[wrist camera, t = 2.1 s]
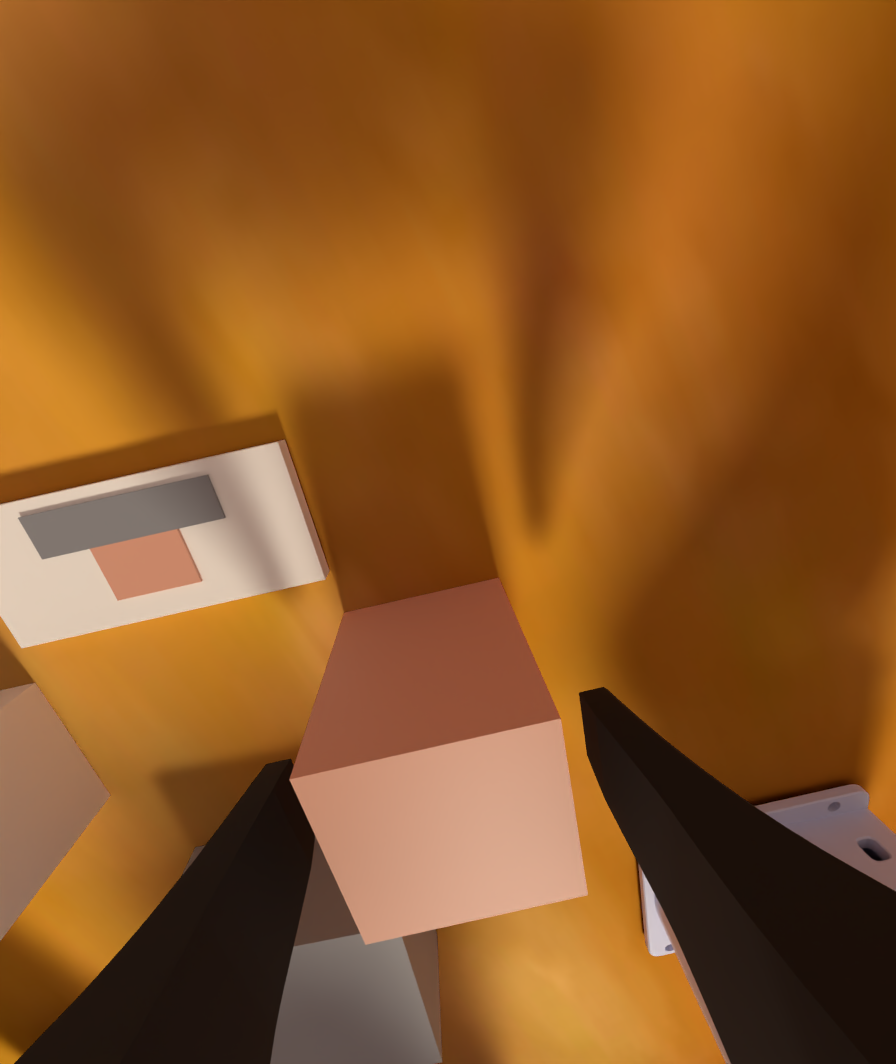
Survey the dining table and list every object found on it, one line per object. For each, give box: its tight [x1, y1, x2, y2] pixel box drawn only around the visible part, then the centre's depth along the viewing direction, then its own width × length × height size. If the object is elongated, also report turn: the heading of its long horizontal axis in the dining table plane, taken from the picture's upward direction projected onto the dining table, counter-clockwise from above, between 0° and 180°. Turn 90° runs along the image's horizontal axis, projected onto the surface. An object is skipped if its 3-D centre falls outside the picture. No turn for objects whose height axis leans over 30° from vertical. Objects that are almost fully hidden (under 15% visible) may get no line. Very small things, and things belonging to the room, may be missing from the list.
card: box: [0, 440, 329, 648], centre depth 12 cm, size 9×4×1 cm, turn 102°
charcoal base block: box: [182, 836, 442, 1064], centre depth 16 cm, size 8×8×4 cm
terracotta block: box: [289, 578, 588, 945], centre depth 11 cm, size 5×5×6 cm
